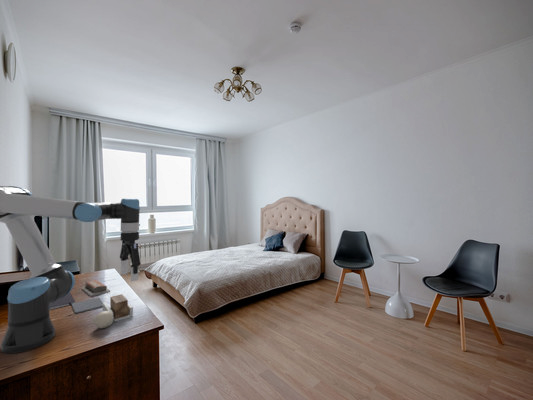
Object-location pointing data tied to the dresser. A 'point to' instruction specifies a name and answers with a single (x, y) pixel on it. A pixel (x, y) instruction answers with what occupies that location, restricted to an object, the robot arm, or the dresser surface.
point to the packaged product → (95, 288)
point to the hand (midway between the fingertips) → (129, 277)
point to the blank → (119, 306)
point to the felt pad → (87, 305)
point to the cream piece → (103, 319)
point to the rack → (107, 308)
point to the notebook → (62, 302)
